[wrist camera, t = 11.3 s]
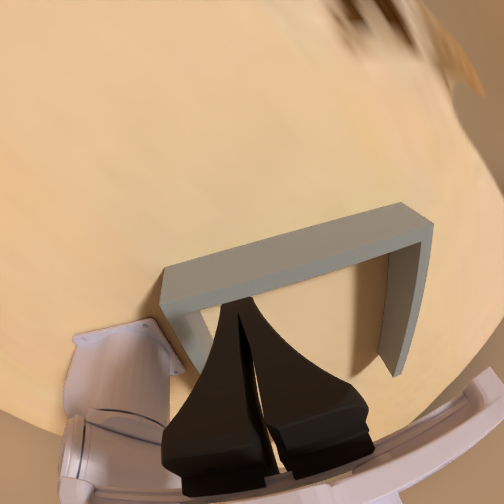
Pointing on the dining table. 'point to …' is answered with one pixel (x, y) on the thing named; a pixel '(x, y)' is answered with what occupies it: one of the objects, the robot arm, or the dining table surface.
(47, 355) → the dining table surface
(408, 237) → the gray rectangular arch
